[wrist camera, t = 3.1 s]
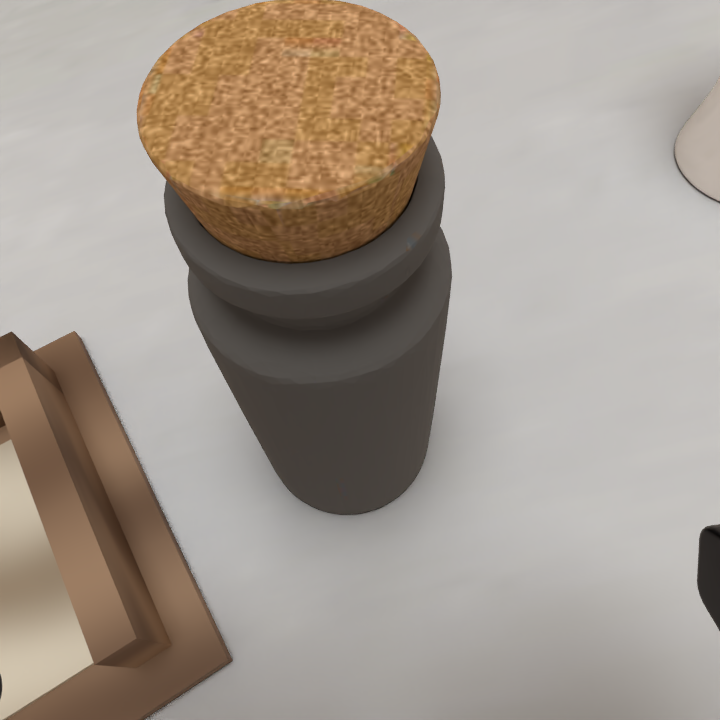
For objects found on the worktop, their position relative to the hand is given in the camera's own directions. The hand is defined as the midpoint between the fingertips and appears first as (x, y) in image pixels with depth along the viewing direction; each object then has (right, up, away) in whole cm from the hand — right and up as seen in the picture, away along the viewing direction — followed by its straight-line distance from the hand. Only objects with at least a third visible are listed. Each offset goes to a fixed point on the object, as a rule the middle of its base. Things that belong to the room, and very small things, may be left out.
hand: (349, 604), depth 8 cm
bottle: (0, 0, +15) cm, 15 cm away
